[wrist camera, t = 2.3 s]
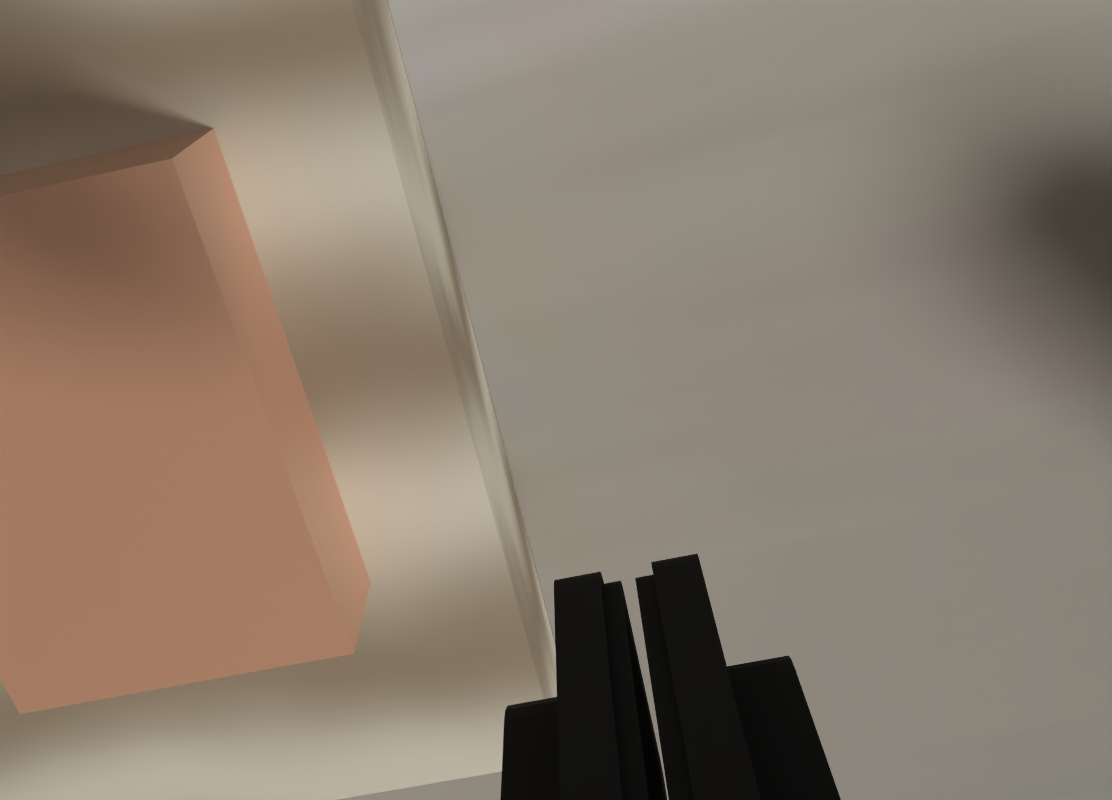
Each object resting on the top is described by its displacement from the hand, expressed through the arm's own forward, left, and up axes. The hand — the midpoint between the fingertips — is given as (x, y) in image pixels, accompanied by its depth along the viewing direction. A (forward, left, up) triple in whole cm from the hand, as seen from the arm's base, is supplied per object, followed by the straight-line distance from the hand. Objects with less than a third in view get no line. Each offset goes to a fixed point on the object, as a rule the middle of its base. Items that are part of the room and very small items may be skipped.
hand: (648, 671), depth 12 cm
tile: (-1, -9, -8) cm, 13 cm away
